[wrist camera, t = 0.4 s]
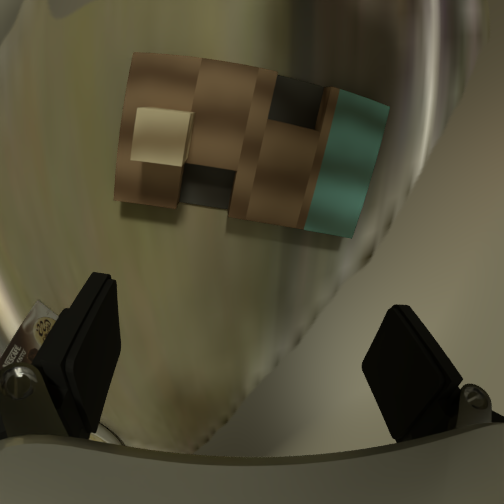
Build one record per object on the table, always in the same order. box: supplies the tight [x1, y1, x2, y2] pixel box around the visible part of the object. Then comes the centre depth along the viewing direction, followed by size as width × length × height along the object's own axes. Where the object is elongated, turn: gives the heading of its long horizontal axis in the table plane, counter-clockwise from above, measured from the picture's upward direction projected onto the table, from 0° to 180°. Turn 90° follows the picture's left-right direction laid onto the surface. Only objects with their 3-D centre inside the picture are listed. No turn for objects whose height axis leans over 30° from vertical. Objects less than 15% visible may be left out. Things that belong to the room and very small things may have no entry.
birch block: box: [130, 107, 196, 167], centre depth 29 cm, size 5×5×5 cm
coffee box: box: [0, 300, 59, 370], centre depth 37 cm, size 9×6×16 cm
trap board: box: [114, 52, 390, 238], centre depth 34 cm, size 17×29×3 cm, turn 78°
